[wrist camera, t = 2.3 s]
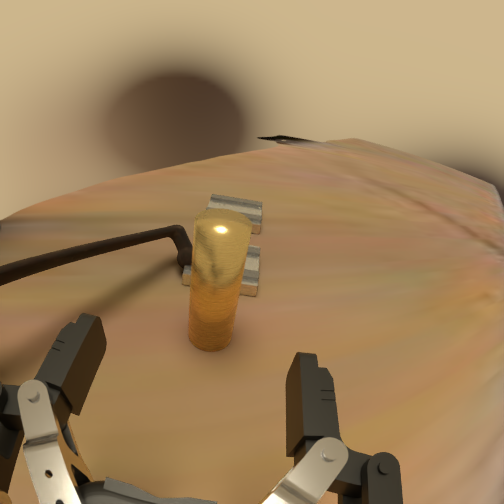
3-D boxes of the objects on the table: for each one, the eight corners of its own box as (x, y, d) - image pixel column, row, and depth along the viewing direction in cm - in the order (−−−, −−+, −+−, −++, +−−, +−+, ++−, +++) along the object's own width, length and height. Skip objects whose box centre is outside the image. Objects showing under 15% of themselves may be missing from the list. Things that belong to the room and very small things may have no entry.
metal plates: (182, 284, 33) (182, 270, 32) (211, 202, 50) (212, 191, 49) (255, 296, 34) (258, 283, 33) (260, 210, 51) (262, 200, 50)
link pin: (184, 347, 27) (189, 232, 20) (192, 315, 30) (200, 204, 23) (228, 354, 27) (250, 242, 20) (233, 322, 30) (253, 213, 23)
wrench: (182, 273, 36) (-71, 368, 11) (165, 234, 37) (-90, 301, 11) (212, 257, 34) (-82, 364, 8) (194, 215, 34) (-102, 281, 8)
